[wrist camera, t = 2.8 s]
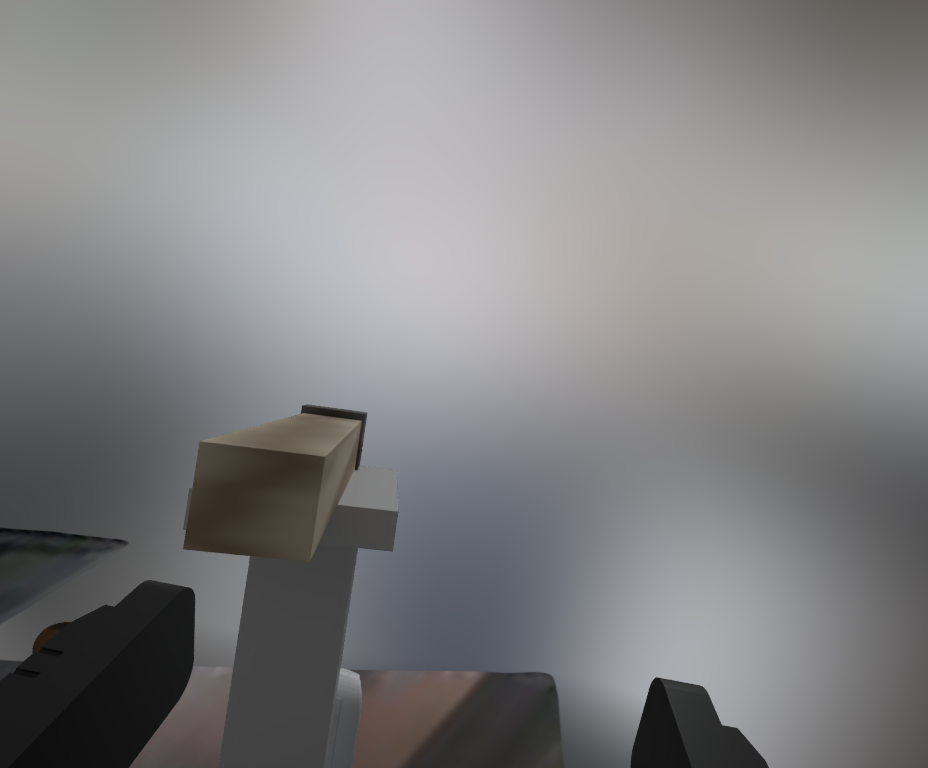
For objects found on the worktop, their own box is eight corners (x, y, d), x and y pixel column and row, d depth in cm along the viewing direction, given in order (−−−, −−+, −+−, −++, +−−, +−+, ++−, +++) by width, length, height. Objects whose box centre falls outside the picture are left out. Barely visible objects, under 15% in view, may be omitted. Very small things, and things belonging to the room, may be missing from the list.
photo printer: (345, 786, 52) (364, 655, 53) (348, 821, 48) (369, 679, 48) (230, 791, 49) (251, 654, 50) (223, 829, 45) (245, 679, 46)
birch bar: (359, 465, 41) (367, 412, 41) (315, 562, 18) (333, 442, 18) (299, 458, 40) (307, 404, 40) (176, 548, 18) (195, 424, 18)
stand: (375, 902, 41) (436, 475, 42) (366, 1166, 27) (457, 518, 28) (149, 896, 39) (218, 448, 40) (13, 1178, 25) (123, 480, 26)
